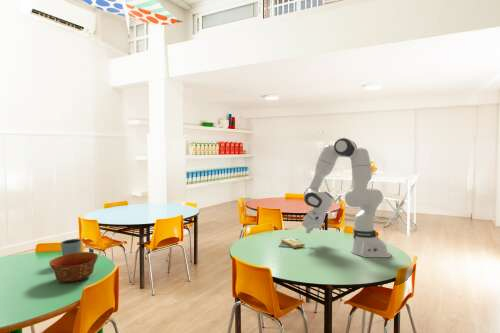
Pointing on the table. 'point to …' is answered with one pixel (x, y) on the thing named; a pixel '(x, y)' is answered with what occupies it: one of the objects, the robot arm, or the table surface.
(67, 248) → the grey cylinder
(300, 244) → the candy box
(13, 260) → the table surface
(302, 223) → the robot arm
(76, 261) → the bowl
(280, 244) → the mat
